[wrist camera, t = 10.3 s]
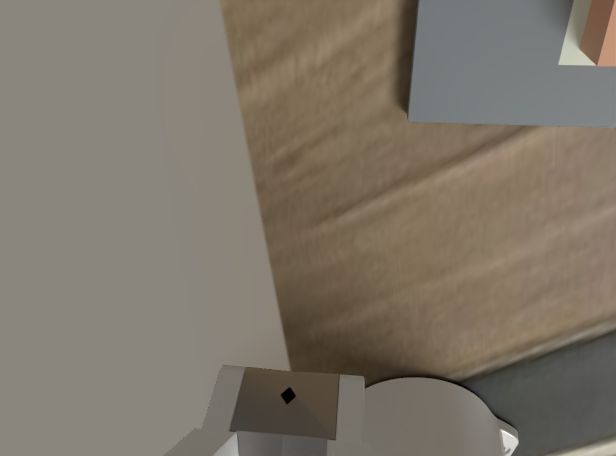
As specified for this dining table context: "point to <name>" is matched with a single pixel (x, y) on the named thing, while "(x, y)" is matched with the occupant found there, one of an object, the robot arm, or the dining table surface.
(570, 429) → the dining table surface
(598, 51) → the t block
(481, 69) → the board
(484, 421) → the robot arm
